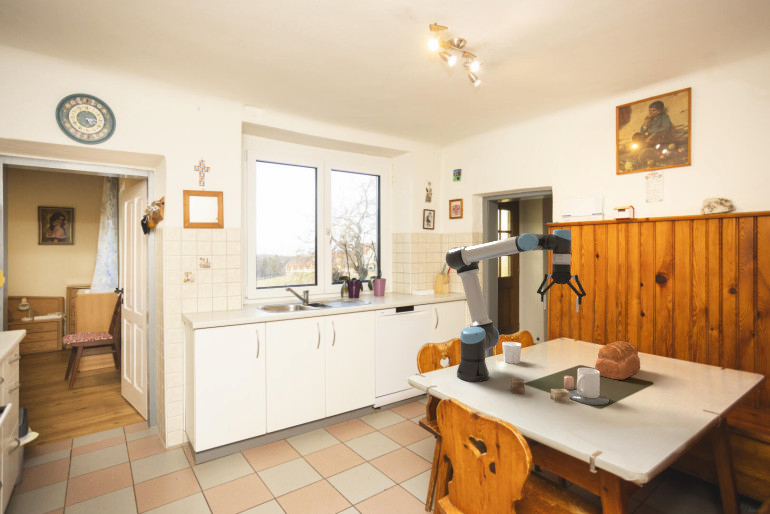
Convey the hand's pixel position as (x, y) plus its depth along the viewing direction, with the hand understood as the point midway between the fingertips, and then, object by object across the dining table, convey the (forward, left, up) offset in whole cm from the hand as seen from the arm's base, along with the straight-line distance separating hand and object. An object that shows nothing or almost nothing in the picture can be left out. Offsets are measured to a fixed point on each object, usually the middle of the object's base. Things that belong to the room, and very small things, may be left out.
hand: (560, 310), depth 176 cm
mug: (+11, -11, -34) cm, 37 cm away
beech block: (+2, -19, -35) cm, 39 cm away
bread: (+23, +35, -35) cm, 54 cm away
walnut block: (-15, -18, -34) cm, 42 cm away
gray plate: (+12, -11, -34) cm, 38 cm away
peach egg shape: (+4, -2, -34) cm, 35 cm away
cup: (-27, +28, -35) cm, 52 cm away
